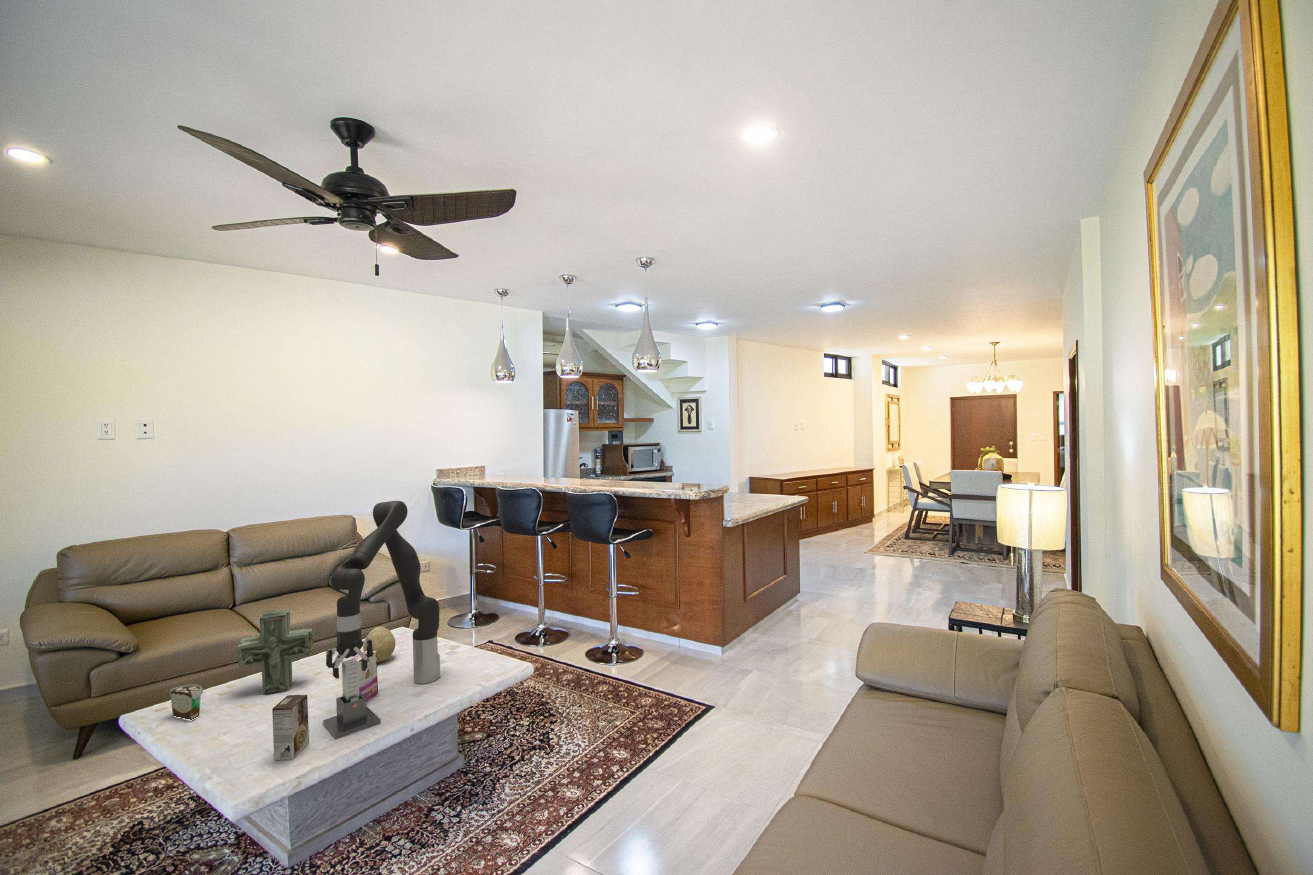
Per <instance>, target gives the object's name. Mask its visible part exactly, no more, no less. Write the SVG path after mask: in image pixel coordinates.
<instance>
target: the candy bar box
mask: <svg viewBox="0 0 1313 875" xmlns="http://www.w3.org/2000/svg"><path fill="white" fill-rule="evenodd" d="M362 652H363V653H364V654H367V651H365V652H364V651H362ZM354 658H355V659H356V660H357V661H358V668H359V692H360V693H361V694H363V695H364V696H365V697H366V702H367V701H369V700H370V699H372V698H373V697H374V696H376V695H377V694H379V684H378V681H379V680H378V679H379V678H378V662H377V655H376V651H373V656H372V657H369V658H368V659H367V669H366V671H362V668H361V659H362V658H361V657H360V656H359V655H358V654H357V655H356V656H354V657H352V658H351V659H354Z"/></svg>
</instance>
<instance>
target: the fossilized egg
mask: <svg viewBox="0 0 1313 875" xmlns="http://www.w3.org/2000/svg"><path fill="white" fill-rule="evenodd" d="M367 638H369V639H370V640H372V648H373V651H376V655H377V663H382V662H384V661H387V660H388V659H389V658H390V657H391V656H392V655H393V653H394V651H395V650H396V638H395V636H394V634H393V632H392V631H390V630H389V629H388V628H387V627H384V626H377V627H374V628H373V629H372V630H371V631H369V633H368V634H367V635H366V637H365V639H364V641H365V640H366V639H367ZM362 649H363V651H362V652H365V651H367V648H366V646H365V645H364V644H363V646H362Z"/></svg>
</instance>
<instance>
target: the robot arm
mask: <svg viewBox="0 0 1313 875" xmlns="http://www.w3.org/2000/svg"><path fill="white" fill-rule="evenodd" d="M408 511H409V510H408V506H407V505H406V504H405V502H404V501H401V500H389V501H383V502H378V503H376V504H375V505H374V506H373V509H372V516H373V517H372V518H373V521H374V523H375V525H376V529H374V530H373V531H372V532H370V533H369V534H368V535H367V536H365V537H364V538H363V539H362V540H361V541H360V542H359V543H358V544H357V546H356V547H355V549H354V550H353V552H352V553H351V555H350V556H349V557H348V558H347V559H345V560H344V561H343V562H342V563H341V564H340V565H338V566H337V567H336V568H335V570H334V571H333V572H332V574H331V576H330V579H329V580H330V581H329V582H330V586H331V587H332V588H333V589H335V590H339V591H341V590H342V591H348V592H347V594H346V595H344V596H341V597H339V598H338V599H337V601H336V625H335V626H336V647H335V648H334V647H333V648H327V649H326V651H325V652H326V654H325V657H326V658H325V665H326V667H327V668H328V669H332V677H333V678H334V679H335V680H338V679H340V667H339V666H340V665H341V664H342V662H343V661H344V659H349V658H351V657H352V658H354V657H356V656H357V655H359V656H360V657H361V658H362V659H361V668H362V671H366V669H367V659H368V658H369V657H372V656H373V648H372V640H370V639H369V638H367V639H366V638H365V639H366V640H365V639H364V640H363V638H362V637H363V636H362V634H363V633H362V624H363V622H362V616H361V597H362V593H363V589H364V586H365V581H366V577H365V576H366V575H365V574H364V572H363V571H362V570H365V569H367V568H369V567H370V565H371V563H372V562H373V560H374V559H375V557H376V556H377V554H378V552H380V550H381V548H382V547H383V545H384V544H385V547H386V548H387V551H388V553H389V556H390V560H391V562H392V566H393V568H394V571H395V573H396V576H397V579H398V580H399V584H400V587H401V590H402V592H403V595H404V600H405V603H406V609H407V612H408V614H409V615H410V617H412V618H413V619H416V620H417V621H418V623H417V628H415V629H413V631H412V658H413V659H412V660H413V661H412V662H413V664H412V665H413V667H412V668H413V682H414V683H415V684H418V685H419V684H420V685H421V684H430V683H432V682H435V681H437V680H438V679H440V678H441V654H440V653H439V651H438V647H439V646H438V631H439V627H440V604H439V602H438V600H437V599H436V598H433V597H430V596H427V595H426V594H425V593H424V591H423V589H422V588H423V587H422V585H421V580H420V579H421V578H420V577H421V570H422V569H421V562H420V559H419V556H418V553H417V551H416V550H415V548H414V547H413V545H411V543H410V542H408V541H407V540H406V539H405V538H404V537H403V536H402V535H401V534H400V532H399V531H398V530H397V529H399V528H400V526H402V525H403V523H404V522H405V520H406V518H407V517H408V514H409V513H408ZM363 645H365V646H366V648H367V654H364V653H363V652H364V651H362V649H363ZM335 653H337V655H336V656H335V657H334V658H335V659H334V661H333V656H334V655H335Z"/></svg>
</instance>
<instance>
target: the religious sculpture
mask: <svg viewBox="0 0 1313 875" xmlns="http://www.w3.org/2000/svg"><path fill="white" fill-rule="evenodd" d="M291 628H292V627H291V609H290V608H289V609H277V610H276V609H275V610H269V611H264V612H263V613H262V615H261V616H260V617H259V635H254V636H249V637H244V638H241V639H240V641H239V644H238V645H237V658H238V668H239V669H247V668H253V667H256V666H260V667H261V681H262V695H270V694H277V693H282V692H287V691H289V689H290V688H291V686H292V685H293V679H294V678H293V659H297V658H302V657H308V656H310V653H312V652H313V650H314V642H313V640H314V639H313V637H314V634H313V628H302V629H294V630H291Z"/></svg>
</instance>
